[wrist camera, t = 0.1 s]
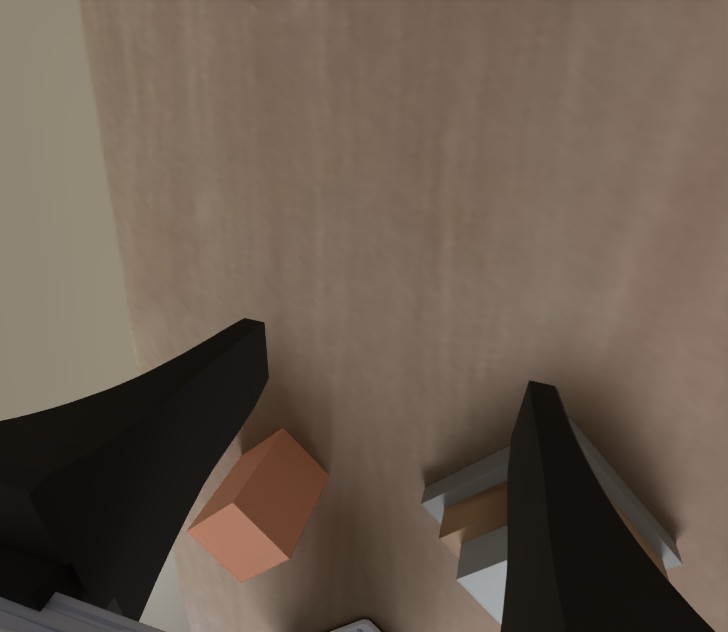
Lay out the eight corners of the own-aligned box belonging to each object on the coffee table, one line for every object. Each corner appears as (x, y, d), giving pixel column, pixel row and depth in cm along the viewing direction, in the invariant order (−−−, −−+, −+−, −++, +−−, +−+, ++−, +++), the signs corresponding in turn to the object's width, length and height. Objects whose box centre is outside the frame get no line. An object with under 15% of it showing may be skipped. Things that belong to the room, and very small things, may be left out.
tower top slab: (536, 622, 26) (537, 661, 25) (460, 544, 25) (456, 579, 24) (648, 588, 23) (659, 629, 22) (568, 498, 23) (572, 534, 21)
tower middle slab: (530, 601, 28) (530, 636, 27) (444, 509, 27) (438, 539, 26) (662, 558, 25) (672, 595, 23) (569, 450, 24) (573, 480, 22)
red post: (286, 500, 32) (240, 583, 27) (241, 455, 32) (186, 531, 26) (329, 475, 30) (289, 558, 25) (283, 427, 30) (232, 502, 24)
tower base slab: (523, 582, 31) (523, 613, 29) (427, 478, 29) (421, 504, 28) (671, 531, 27) (682, 564, 25) (567, 407, 25) (571, 432, 23)
